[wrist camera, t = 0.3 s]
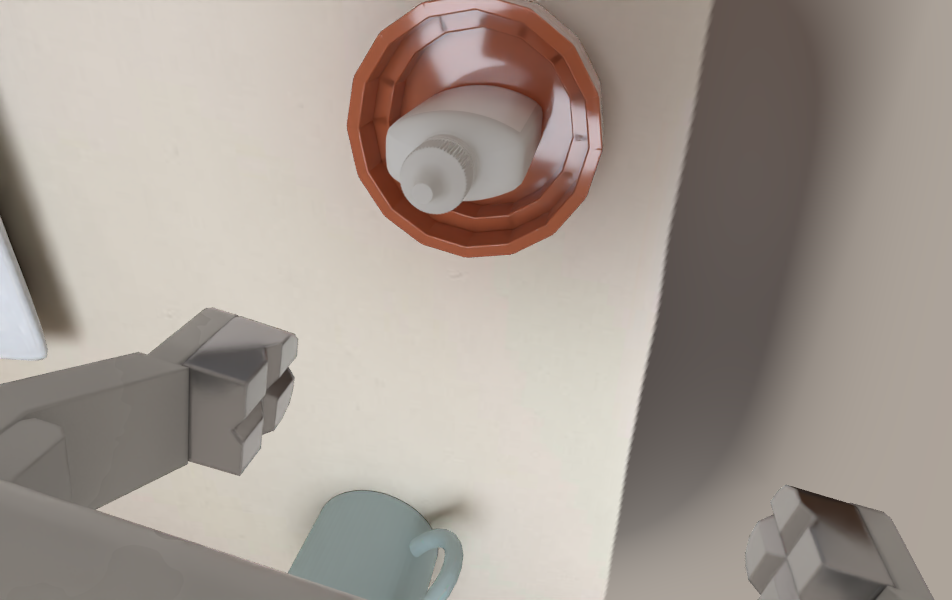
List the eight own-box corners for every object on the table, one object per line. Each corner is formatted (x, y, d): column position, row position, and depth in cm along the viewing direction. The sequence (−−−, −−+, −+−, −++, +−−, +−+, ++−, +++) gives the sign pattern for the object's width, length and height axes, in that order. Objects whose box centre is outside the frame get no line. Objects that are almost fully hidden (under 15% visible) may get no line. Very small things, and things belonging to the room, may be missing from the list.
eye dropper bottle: (460, 47, 30) (377, 85, 19) (558, 114, 30) (531, 187, 20) (416, 126, 32) (321, 199, 21) (509, 188, 32) (461, 289, 22)
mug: (370, 595, 50) (319, 726, 41) (294, 515, 47) (222, 636, 39) (514, 544, 44) (490, 683, 36) (437, 450, 42) (391, 575, 33)
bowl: (401, -36, 29) (368, -38, 25) (636, 30, 29) (641, 39, 25) (365, 190, 35) (333, 218, 31) (562, 249, 34) (556, 285, 30)
